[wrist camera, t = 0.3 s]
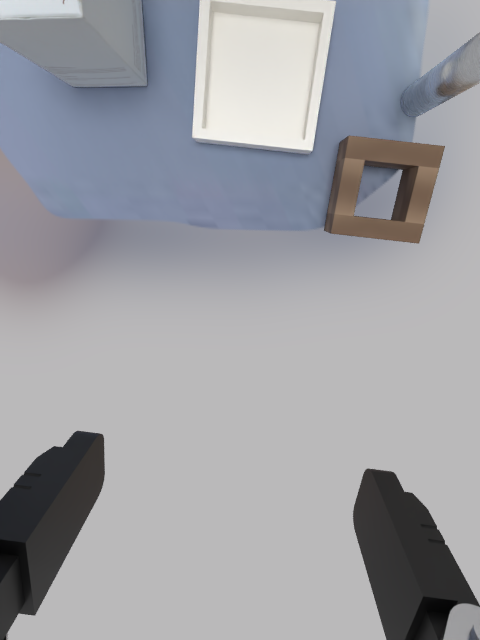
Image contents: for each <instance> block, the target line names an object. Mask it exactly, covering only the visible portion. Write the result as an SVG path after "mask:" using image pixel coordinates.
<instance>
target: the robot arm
mask: <svg viewBox="0 0 480 640" xmlns="http://www.w3.org/2000/svg"><path fill="white" fill-rule="evenodd" d="M104 470H105V469H104V437H103V435H102V434H99V433H90V432H83V431H76V432H75V433H74V434H73V435H72V436H71V437H70V439H69V440H68V441H67V443H66V444H65V445H64V446H63V447H56V446H54V447H52V448H51V449H49V450H48V451H46V452H45V453H43V454H42V455H40V456H39V457H37V458H36V459H35V460H34V461H33V463H32V464H31V465H30V466H29V468H28V469H27V470H26V471H25V473H24V475H22V476H21V477H20V478H19V479H18V480H17V482H16V483H15V484H14V487H13V488H11V489H10V490H9V491H8V492H7V493H6V494H5V496H4V497H3V498H2V499H1V500H0V640H8V634H7V633H8V631H9V629H10V627H11V626H12V624H13V622H14V620H15V618H16V617H17V615H18V613H20V614H28V615H35V614H36V612H37V610H38V608H39V607H40V605H41V603H42V601H43V599H44V597H45V596H46V594H47V592H48V590H49V587H50V586H51V584H52V582H53V580H54V579H55V577H56V575H57V573H58V571H59V569H60V567H61V566H62V564H63V562H64V560H65V558H66V556H67V554H68V553H69V550H70V549H71V547H72V545H73V543H74V541H75V539H76V538H77V536H78V534H79V532H80V530H81V528H82V526H83V524H84V523H85V521H86V519H87V517H88V515H89V513H90V511H91V509H92V508H93V506H94V504H95V502H96V500H97V498H98V496H99V494H100V492H101V489H102V486H103V482H104V475H105V471H104ZM353 521H354V529H355V532H356V536H357V539H358V543H359V546H360V549H361V553H362V556H363V560H364V564H365V567H366V570H367V574H368V577H369V581H370V584H371V588H372V591H373V594H374V598H375V601H376V605H377V608H378V612H379V615H380V619H381V622H382V625H383V629H384V632H385V636H386V639H387V640H480V605H479V603H478V601H477V599H476V598H475V596H474V594H473V592H472V590H471V588H470V587H469V585H468V583H467V581H466V579H465V577H464V575H463V574H462V572H461V570H460V568H459V566H458V564H457V563H456V561H455V559H454V557H453V555H452V553H451V551H450V550H449V548H448V546H447V545H445V540H444V539H443V537H442V535H441V533H440V531H439V530H437V526H436V524H435V522H434V520H433V518H432V517H431V515H430V513H429V511H428V509H427V508H426V507H425V506H424V505H423V504H422V503H421V502H420V501H419V500H418V499H417V497H416V496H415V495H414V494H413V493H409V492H404V490H403V488H402V486H401V484H400V482H399V480H398V478H397V476H396V475H395V473H394V472H391V471H383V470H375V469H366V470H365V472H364V474H363V478H362V481H361V485H360V488H359V492H358V495H357V498H356V502H355V505H354V511H353Z"/></svg>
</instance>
